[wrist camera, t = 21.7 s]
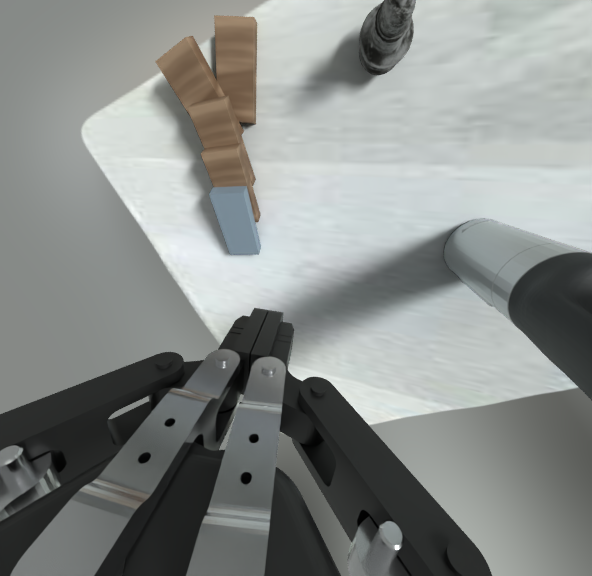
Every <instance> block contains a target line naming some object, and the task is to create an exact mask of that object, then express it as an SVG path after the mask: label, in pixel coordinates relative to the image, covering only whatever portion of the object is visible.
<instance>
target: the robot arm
mask: <svg viewBox="0 0 592 576" xmlns="http://www.w3.org/2000/svg"><path fill="white" fill-rule="evenodd" d="M444 258H445V262H446V264H447V266H448V267H449V268H450V269H451V270H452V271H453V272H454V273H455V274H456V275H458V276H459V278H460V280H461V281H462V282H463V283H464V284H465V285H467V286H468V287H469V288H470V289H471V290H472V291H473V292H474V293H476V294H477V295H478V296H479V297H480V298H481V299H482V300H484V301H485V302H486V303H487V304H488V305H489V306H492V307H494V308H496V309H497V310H498V311H499V312H500V313H502V314H503V315H504V316H505V317H506V318H507V319H509V320H510V321H511V322H512V323H513V324H514V325H515V326H516V327H517V328H519V329H520V330H521V331H522V332H523V333H524V334H525V335H526V336H527V337H528V338H529V339H530V340H531V341H532V342H533V343H534V344H535V345H536V346H537V347H538V348H539V350H540V351H541V352H542V353H543V354H544V355H545V356H546V357H547V358H548V359H549V360H551V361H552V362H553V363H554V364H555V365H556V366H557V367H558V368H559V369H560V370H561V371H563V372H564V373H565V374H566V375H567V376H568V377H569V378H570V379H571V380H572V381H573V382H574V383H575V384H576V385H577V386H578V387H579V388H580V389H581V390H582V391H583V392H585V394H586V395H587V396H588V397H589V398H590V399H591V400H592V253H591V252H588V251H585V250H582V249H579V248H576V247H573V246H569V245H566V244H563V243H560V242H557V241H554V240H551V239H548V238H545V237H542V236H539V235H536V234H533V233H530V232H527V231H524V230H521V229H518V228H515V227H512V226H509V225H506V224H503V223H500V222H497V221H494V220H491V219H476V220H472V221H469V222H467V223H465V224H463V225H461V226H460V227H459V228H457V229H456V230H455V231H454V232H453V233H452V234H451V236H450V237H449V238H448V240H447V242H446V245H445V249H444ZM293 334H294V329H293V326H292V324H291V323H285V322H283V312H277V311H270V310H264V309H258V308H254V310H253V312H252V313H251V315H250V317H248V316H242V317H240V318H238V319H237V320H236V321H235V322H234V324H233V326H232V328H231V329H230V331H229V333H228V334H227V335H226V337H225V339H224V340H223V342H222V344H221V345H220V347H219V349H218V350H216V351H214V352H211V353H210V354H209V355H208V356H207V357H206V358H205V360H201V361H192V362H184V361H183V358H182V356H181V355H179V354H177V353H174V352H165V353H160V354H157V355H154V356H152V357H149V358H147V359H144V360H142V361H139V362H136V363H133V364H131V365H128V366H126V367H123V368H120V369H118V370H115V371H113V372H110V373H107V374H105V375H102V376H100V377H97V378H94V379H92V380H89V381H86V382H84V383H81V384H79V385H76V386H73V387H71V388H68V389H65V390H63V391H60V392H58V393H55V394H52V395H50V396H48V397H45V398H42V399H39V400H37V401H34V402H31V403H29V404H26V405H24V406H21V407H19V408H16V409H13V410H11V411H8V412H5V413H3V414H0V576H341V575H340V573H339V571H338V569H337V567H336V565H335V563H334V561H333V559H332V557H331V554H330V552H329V551H328V548H327V546H326V544H325V542H324V540H323V538H322V536H321V534H320V532H319V530H318V528H317V526H316V524H315V522H314V520H313V518H312V516H311V514H310V512H309V510H308V508H307V506H306V504H305V501H304V500H303V498H302V495H301V493H300V492H299V490H298V488H297V487H296V485H295V484H294V482H293V481H292V480H291V479H290V478H289V477H288V476H287V475H286V474H285V473H284V472H283V471H281V470H280V469H279V468H277V467H276V459H277V450H278V441H279V432H282V433H284V434H286V435H287V436H289V437H291V438H292V441H293V444H294V446H295V448H296V449H297V451H298V453H299V454H300V456H301V458H302V459H303V461H304V463H305V464H306V466H307V468H308V470H309V471H310V473H311V474H312V476H313V478H314V479H315V481H316V483H317V485H318V486H319V488H320V490H321V492H322V493H323V495H324V496H325V498H326V500H327V502H328V503H329V505H330V507H331V508H332V510H333V512H334V513H335V515H336V517H337V518H338V520H339V522H340V524H341V525H342V527H343V529H344V530H345V532H346V533H347V535H348V537H349V539H350V540H351V542H352V544H351V547H350V549H349V553H348V569H349V574H350V576H492V574H491V572H490V569H489V567H488V564H487V562H486V560H485V559H484V557H483V555H482V554H481V552H480V551H479V549H478V548H477V547H476V546H475V544H474V543H473V542H472V541H471V540H470V539H469V538H468V537H467V535H466V534H465V533H464V532H463V531H462V530H461V529H460V527H459V526H458V525H457V524H456V523H455V522H454V521H453V520H452V519H451V517H450V516H449V515H448V514H447V513H446V512H445V511H444V509H443V508H442V507H441V506H440V505H439V504H438V503H437V502H436V501H435V499H434V498H433V497H432V496H431V495H430V494H429V493H428V492H427V490H426V489H425V488H424V487H423V486H422V485H421V484H420V483H419V481H418V480H417V479H416V478H415V477H414V476H413V475H412V474H411V472H410V471H409V470H408V469H407V468H406V467H405V466H404V465H403V463H402V462H401V461H400V460H399V459H398V458H397V457H396V456H395V454H394V453H393V452H392V451H391V450H390V449H389V448H388V447H387V445H386V444H385V443H384V442H383V441H382V440H381V439H380V438H379V436H378V435H377V434H376V433H375V432H374V431H373V430H372V429H371V428H370V426H369V425H368V424H367V423H366V422H365V421H364V420H363V418H362V417H361V416H360V415H359V414H358V413H357V412H356V411H355V410H354V408H353V407H352V406H351V405H350V404H349V403H348V402H347V401H346V399H345V398H344V397H343V396H342V395H341V394H340V393H339V392H338V390H337V389H336V388H335V387H334V386H333V385H332V384H331V383H330V382H329V381H327V380H326V379H323V378H320V377H310V378H307V379H305V380H304V381H301V380H298V379H296V378H295V377H293V376H292V375H291V374H290V373H289V371H288V365H289V360H290V355H291V349H292V342H293ZM240 394H243V395H244V397H243V401H242V402H240V403H239V401H238V400H239V397H240ZM147 396H149V402H146V403H144V404H142V405H140V406H138V407H136V408H134V409H132V410H130V411H128V412H126V413H124V414H122V415H120V416H118V417H115V418H113V419H109V420H108V418H109V417H110V416H111V415H112V414H113V413H114V412H115V411H117V410H119V409H121V408H123V407H125V406H128V405H130V404H132V403H134V402H136V401H138V400H140V399H143V398H145V397H147ZM238 403H239V405H238ZM234 417H235V418H234ZM233 419H234V422H233V425H232V428H231V432H230V435H229V439H228V442H227V446H226V449H225V450H219V449H220V446H221V444H222V442H223V440H224V438H225V436H226V434H227V432H228V430H229V427H230V425H231V423H232V421H233Z"/></svg>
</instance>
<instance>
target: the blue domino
mask: <svg viewBox="0 0 592 576" xmlns="http://www.w3.org/2000/svg"><path fill="white" fill-rule="evenodd" d="M209 196H210V199H211V202H212V205H213V207H214V210H215V213H216V216H217V219H218V222H219V224H220V227H221V230H222V233H223V236H224V239H225V241H226V244H227V247H228V250H229V253H230V255H243V254H259V252H260V248H261V245H260V240H259V236H258V232H257V228H256V223H255V219H254V215H253V211H252V206H251V202H250V198H249V194H248V189H247V186H233V187H213V188H212V190H211V192H210V193H209Z"/></svg>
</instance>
